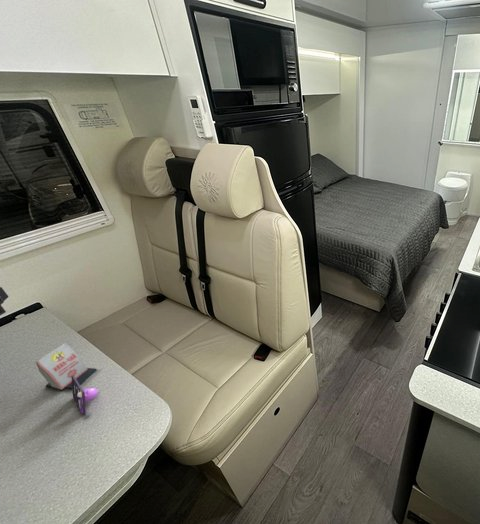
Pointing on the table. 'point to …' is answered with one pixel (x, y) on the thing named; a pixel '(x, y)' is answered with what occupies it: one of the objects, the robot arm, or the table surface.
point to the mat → (80, 378)
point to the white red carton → (61, 366)
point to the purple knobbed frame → (82, 394)
